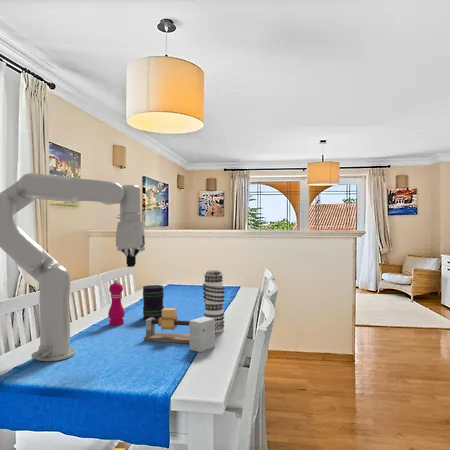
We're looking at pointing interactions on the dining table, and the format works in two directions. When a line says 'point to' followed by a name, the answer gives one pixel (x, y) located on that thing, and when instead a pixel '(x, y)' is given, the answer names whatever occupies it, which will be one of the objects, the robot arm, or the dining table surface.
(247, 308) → the dining table surface
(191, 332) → the small box
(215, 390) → the dining table surface
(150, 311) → the storage jar
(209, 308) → the decorative candle
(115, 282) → the pepper mill
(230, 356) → the dining table surface
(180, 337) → the slider rail stand
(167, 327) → the wooden slider block
